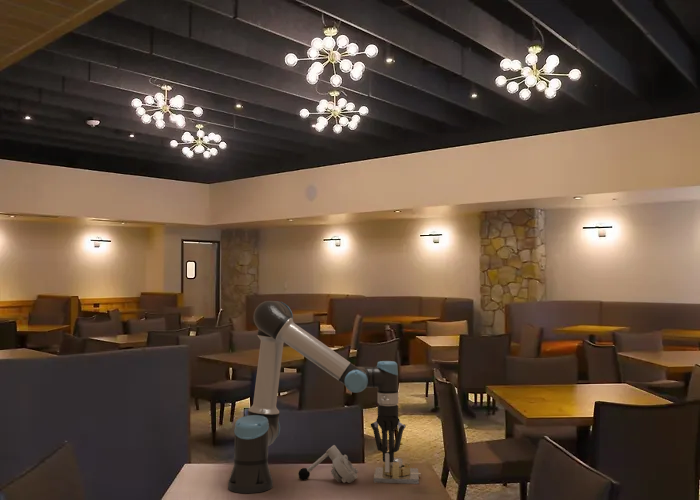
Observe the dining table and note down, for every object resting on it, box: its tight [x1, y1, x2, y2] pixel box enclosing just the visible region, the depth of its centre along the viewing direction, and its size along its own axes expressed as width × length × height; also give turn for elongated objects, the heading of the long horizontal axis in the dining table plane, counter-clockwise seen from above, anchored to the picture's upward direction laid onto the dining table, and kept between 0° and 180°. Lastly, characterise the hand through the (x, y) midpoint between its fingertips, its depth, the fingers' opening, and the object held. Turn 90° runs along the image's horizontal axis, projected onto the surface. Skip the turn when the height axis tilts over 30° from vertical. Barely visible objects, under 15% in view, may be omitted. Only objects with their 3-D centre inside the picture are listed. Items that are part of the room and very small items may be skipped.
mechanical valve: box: [298, 444, 359, 484], centre depth 219 cm, size 10×18×15 cm
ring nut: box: [382, 461, 411, 479], centre depth 222 cm, size 14×10×5 cm
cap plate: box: [373, 457, 421, 485], centre depth 224 cm, size 17×16×6 cm
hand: (388, 471), depth 218 cm, fingers closed
